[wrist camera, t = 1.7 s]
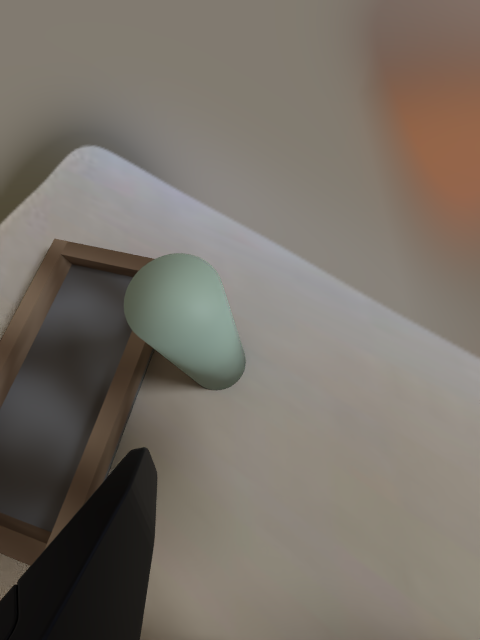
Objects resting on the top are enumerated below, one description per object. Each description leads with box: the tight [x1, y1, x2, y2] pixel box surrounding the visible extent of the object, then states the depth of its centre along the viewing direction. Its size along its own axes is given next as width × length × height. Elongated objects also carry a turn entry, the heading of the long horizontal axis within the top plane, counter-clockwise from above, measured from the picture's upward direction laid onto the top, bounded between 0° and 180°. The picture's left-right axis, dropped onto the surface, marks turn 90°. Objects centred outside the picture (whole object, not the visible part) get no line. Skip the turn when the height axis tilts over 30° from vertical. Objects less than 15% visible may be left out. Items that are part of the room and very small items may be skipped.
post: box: [124, 254, 246, 390], centre depth 18 cm, size 4×4×11 cm
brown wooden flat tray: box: [0, 239, 154, 566], centre depth 23 cm, size 20×10×2 cm, turn 164°
